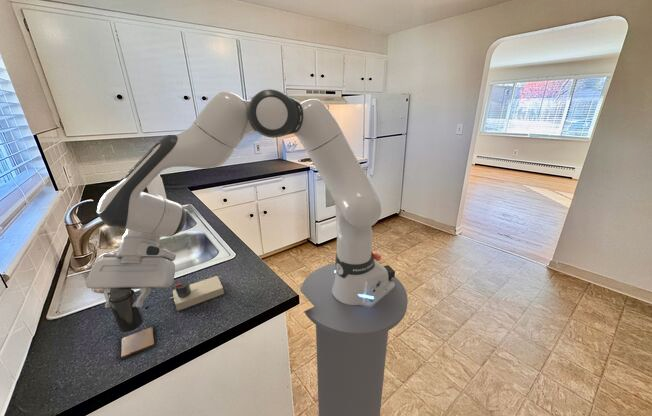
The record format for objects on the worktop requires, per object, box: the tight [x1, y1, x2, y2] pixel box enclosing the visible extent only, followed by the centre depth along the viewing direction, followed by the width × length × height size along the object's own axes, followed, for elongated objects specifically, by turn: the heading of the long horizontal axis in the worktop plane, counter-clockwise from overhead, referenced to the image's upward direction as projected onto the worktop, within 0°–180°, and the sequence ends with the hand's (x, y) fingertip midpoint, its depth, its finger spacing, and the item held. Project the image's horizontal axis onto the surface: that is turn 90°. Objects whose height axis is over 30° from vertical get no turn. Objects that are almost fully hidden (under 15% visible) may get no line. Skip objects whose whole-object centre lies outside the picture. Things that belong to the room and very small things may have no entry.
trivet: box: [120, 326, 155, 359], centre depth 71 cm, size 7×7×1 cm
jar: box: [108, 288, 144, 333], centre depth 67 cm, size 5×5×10 cm
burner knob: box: [174, 280, 191, 298], centre depth 84 cm, size 4×4×4 cm
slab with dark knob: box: [169, 275, 225, 312], centre depth 87 cm, size 15×8×3 cm, turn 124°
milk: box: [146, 176, 168, 199], centre depth 158 cm, size 6×6×22 cm
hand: (123, 307), depth 66 cm, fingers closed on jar, 5 cm apart
